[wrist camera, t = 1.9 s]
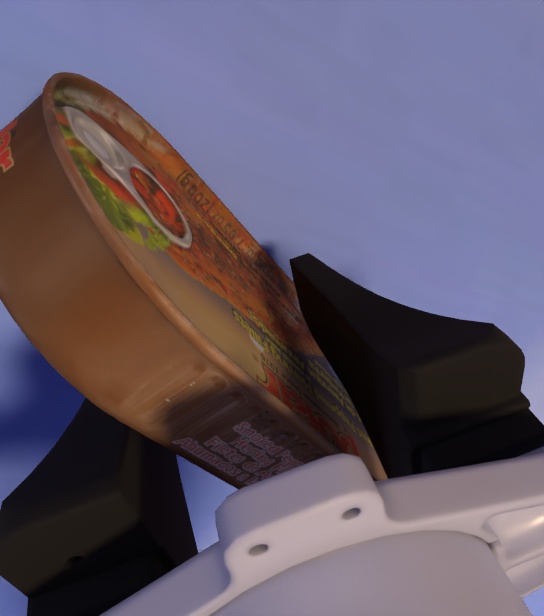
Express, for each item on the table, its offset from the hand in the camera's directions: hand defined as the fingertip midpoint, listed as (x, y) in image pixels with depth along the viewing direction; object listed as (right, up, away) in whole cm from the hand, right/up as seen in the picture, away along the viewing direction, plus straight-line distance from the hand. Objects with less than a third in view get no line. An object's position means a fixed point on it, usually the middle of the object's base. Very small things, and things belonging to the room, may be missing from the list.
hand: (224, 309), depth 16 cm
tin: (-1, +2, +2) cm, 3 cm away
